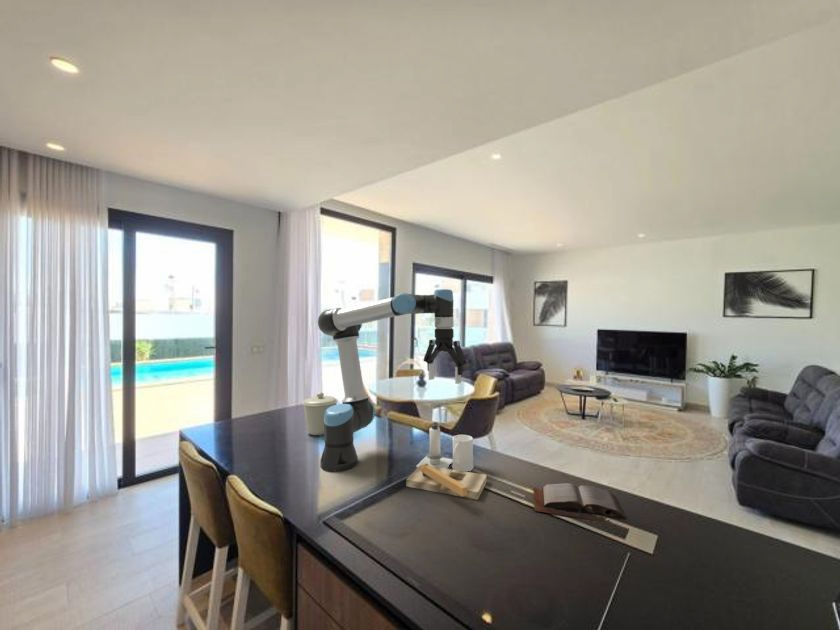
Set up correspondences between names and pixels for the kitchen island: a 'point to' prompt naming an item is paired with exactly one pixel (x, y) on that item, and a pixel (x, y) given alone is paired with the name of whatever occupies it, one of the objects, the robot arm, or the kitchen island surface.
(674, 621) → the kitchen island surface
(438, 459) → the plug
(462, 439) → the mug
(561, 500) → the book
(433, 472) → the wooden bar
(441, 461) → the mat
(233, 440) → the kitchen island surface
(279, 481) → the kitchen island surface
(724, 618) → the kitchen island surface
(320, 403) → the canister
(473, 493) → the socket board
